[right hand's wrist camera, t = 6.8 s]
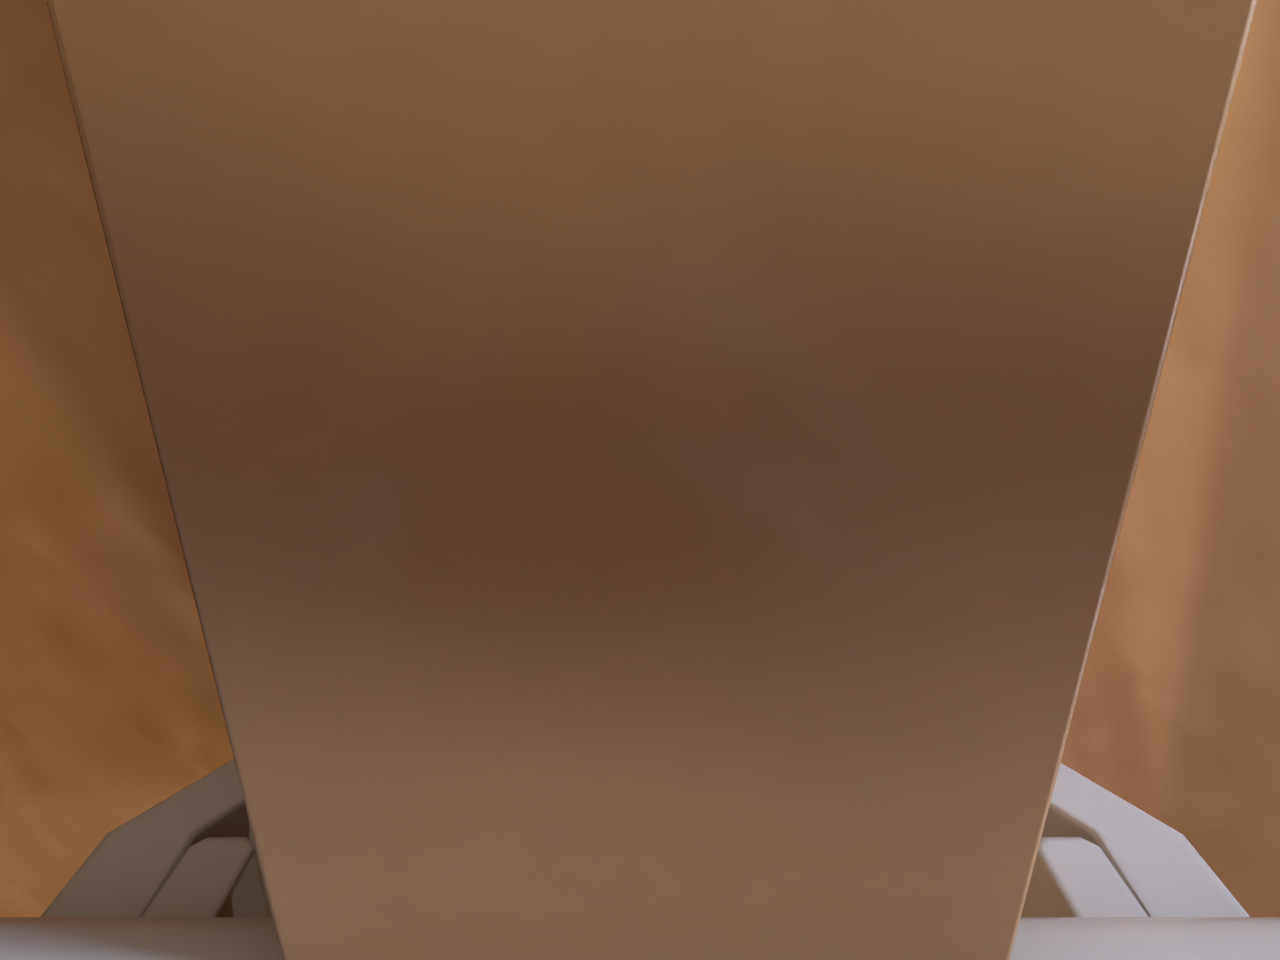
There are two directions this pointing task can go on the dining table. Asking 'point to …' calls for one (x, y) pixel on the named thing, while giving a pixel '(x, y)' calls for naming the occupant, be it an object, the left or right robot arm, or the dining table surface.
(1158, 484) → the dining table surface
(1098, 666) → the dining table surface
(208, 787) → the right robot arm
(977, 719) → the post
